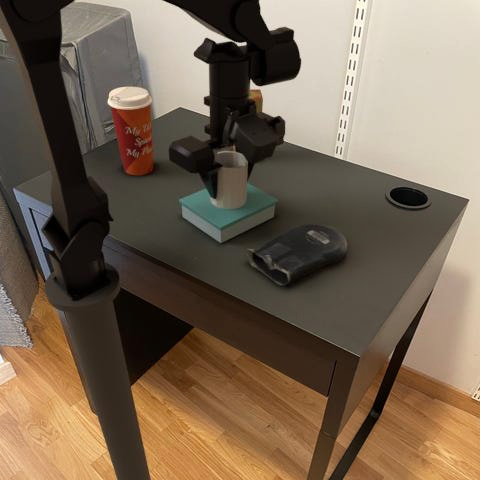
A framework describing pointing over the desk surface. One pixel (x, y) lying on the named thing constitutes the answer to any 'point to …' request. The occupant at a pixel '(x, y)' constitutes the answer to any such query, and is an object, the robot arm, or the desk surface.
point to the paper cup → (133, 128)
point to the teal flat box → (228, 213)
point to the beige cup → (231, 180)
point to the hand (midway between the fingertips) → (228, 191)
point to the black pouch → (298, 252)
